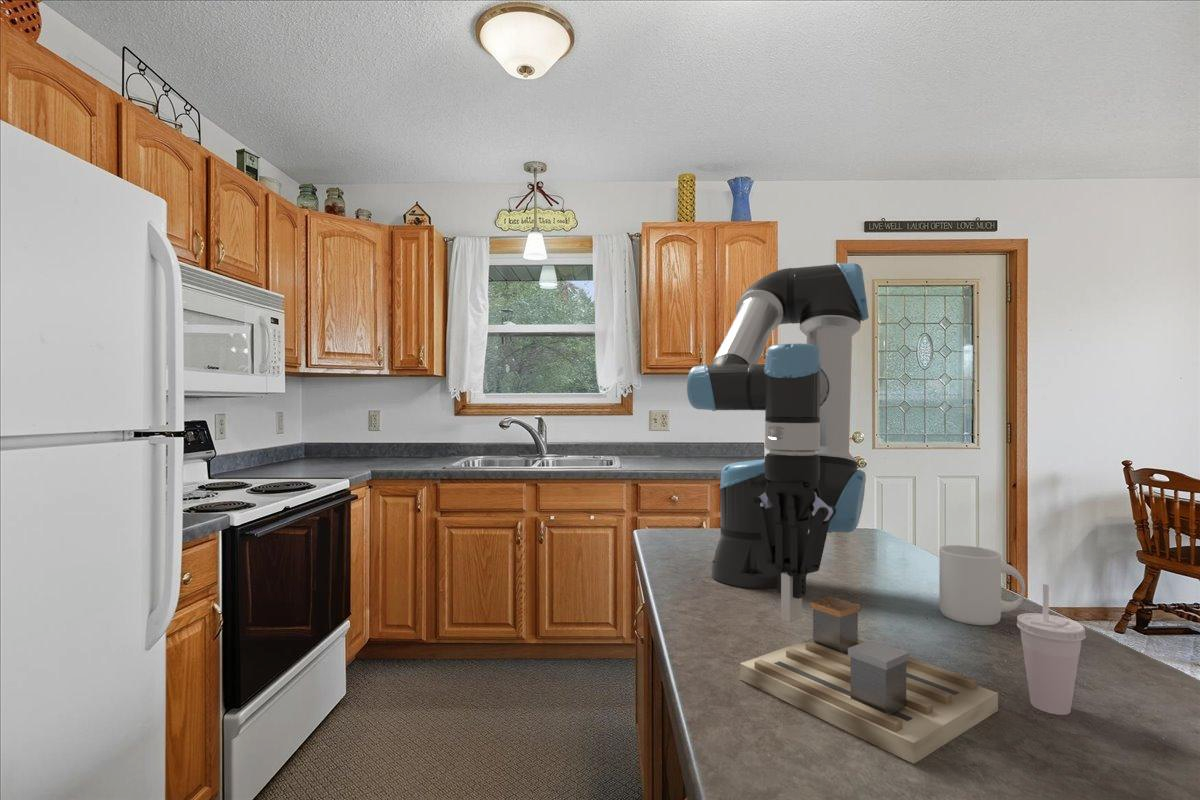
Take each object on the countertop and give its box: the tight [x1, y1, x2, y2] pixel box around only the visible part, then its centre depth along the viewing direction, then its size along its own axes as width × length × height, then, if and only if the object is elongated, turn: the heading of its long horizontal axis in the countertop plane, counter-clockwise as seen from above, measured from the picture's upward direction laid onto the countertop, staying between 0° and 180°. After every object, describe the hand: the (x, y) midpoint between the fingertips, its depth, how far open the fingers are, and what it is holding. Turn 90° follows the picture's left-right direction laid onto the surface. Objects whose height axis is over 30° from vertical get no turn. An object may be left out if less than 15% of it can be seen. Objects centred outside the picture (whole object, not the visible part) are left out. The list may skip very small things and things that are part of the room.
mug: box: [938, 544, 1026, 626], centre depth 100 cm, size 9×12×11 cm
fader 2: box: [848, 639, 910, 715], centre depth 66 cm, size 4×4×6 cm
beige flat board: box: [739, 637, 999, 765], centre depth 73 cm, size 22×18×3 cm
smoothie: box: [1016, 583, 1087, 716], centre depth 70 cm, size 6×6×14 cm
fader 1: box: [810, 596, 861, 654], centre depth 82 cm, size 4×4×6 cm
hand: (791, 618), depth 88 cm, fingers closed
